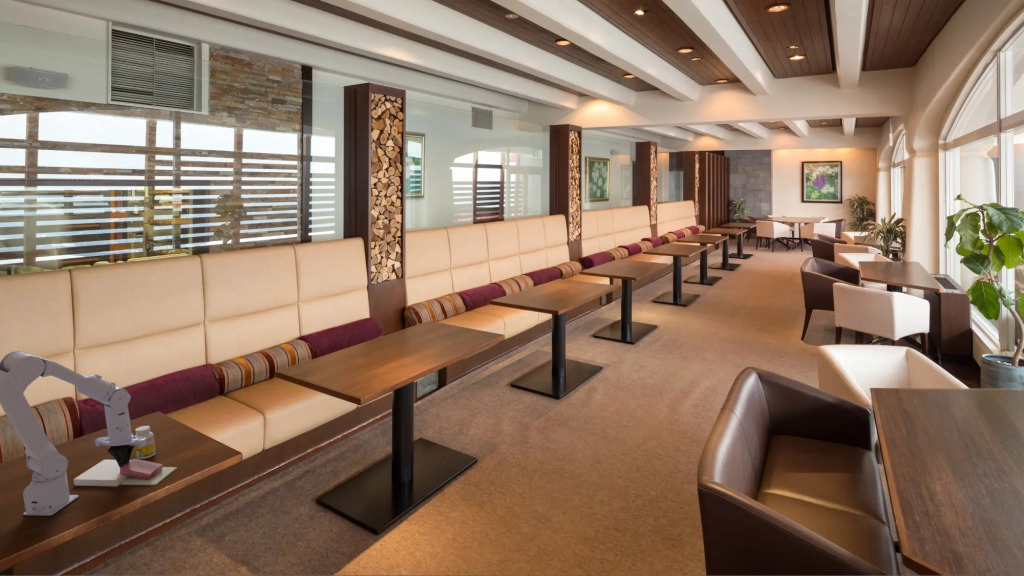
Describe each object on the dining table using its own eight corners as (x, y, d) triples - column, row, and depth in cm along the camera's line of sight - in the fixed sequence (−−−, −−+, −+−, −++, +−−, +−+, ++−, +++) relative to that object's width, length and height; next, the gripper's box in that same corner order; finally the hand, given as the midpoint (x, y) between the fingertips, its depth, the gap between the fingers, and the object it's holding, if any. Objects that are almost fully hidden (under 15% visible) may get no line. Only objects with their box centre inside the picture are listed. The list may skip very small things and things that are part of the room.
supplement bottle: (159, 454, 185) (155, 426, 184) (142, 460, 181) (138, 433, 179) (150, 450, 188) (146, 423, 186) (133, 457, 183) (129, 429, 182)
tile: (149, 480, 168) (149, 474, 168) (119, 473, 168) (120, 467, 168) (162, 470, 174) (162, 464, 174) (133, 464, 174) (134, 458, 174)
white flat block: (117, 486, 166) (116, 480, 165) (74, 485, 166) (73, 479, 166) (144, 466, 177) (144, 460, 177) (105, 465, 178) (104, 459, 177)
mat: (155, 485, 166) (155, 484, 166) (120, 484, 166) (120, 483, 166) (176, 468, 176) (176, 467, 176) (143, 467, 176) (143, 466, 176)
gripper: (151, 420, 172) (156, 461, 175) (105, 419, 173) (111, 460, 175) (135, 430, 165) (140, 472, 168) (87, 429, 166) (93, 471, 168)
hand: (124, 467), depth 171 cm, fingers closed
